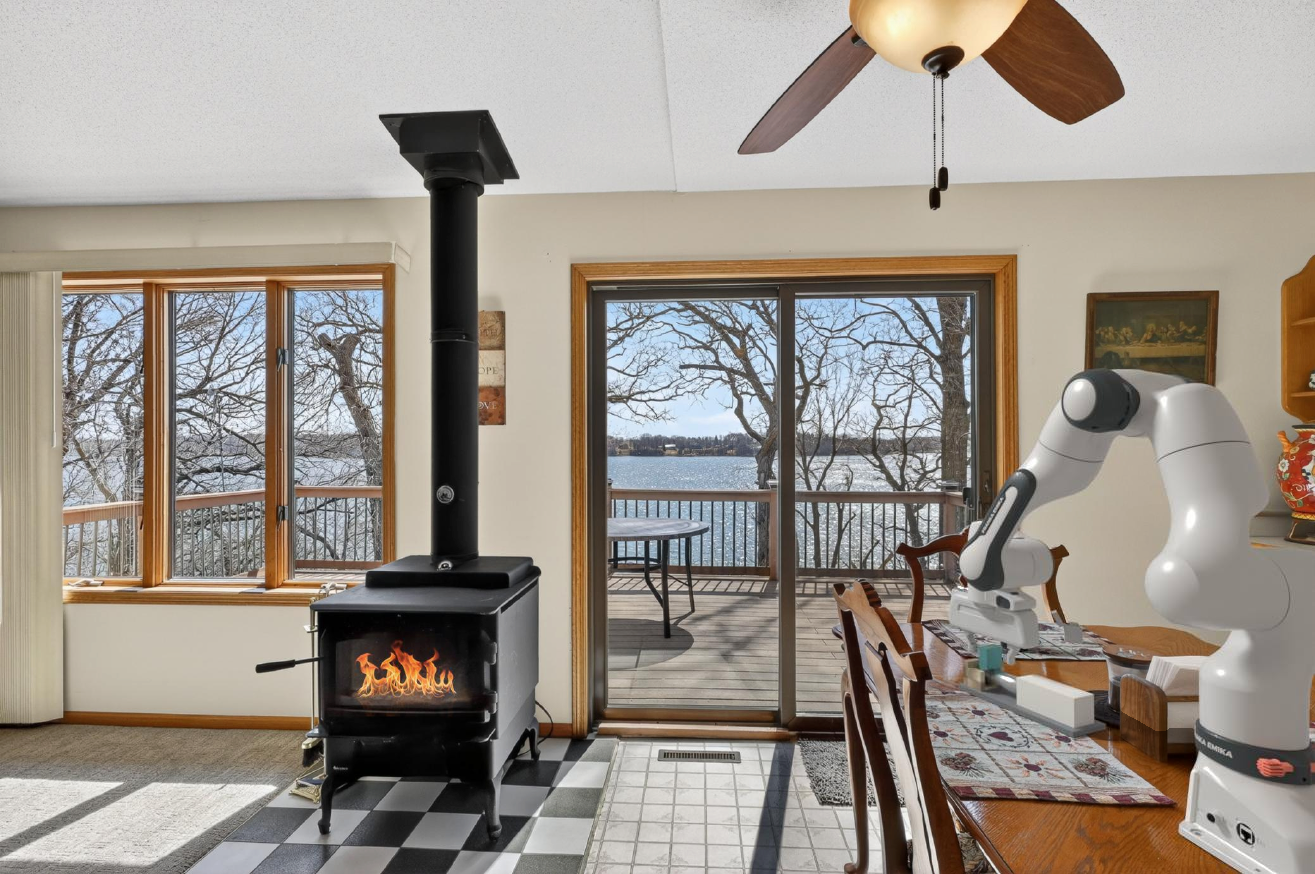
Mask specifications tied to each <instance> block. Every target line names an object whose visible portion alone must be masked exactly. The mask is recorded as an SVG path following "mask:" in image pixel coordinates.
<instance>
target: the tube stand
mask: <svg viewBox="0 0 1315 874" xmlns="http://www.w3.org/2000/svg"><path fill="white" fill-rule="evenodd" d="M1016 680H1017V694H1014V693H1012V692H1009V691H1007V690H1004V689H1002V688H995V689H990V690H985V691H979V690H976V689H974V688H971V687H969V686H967V685H964V684H963V682H961V683H958V684H957V687H958V688H957V689H958V690H960V691H963V692H965V693H968V694H970V695H972V696H975V697H977V698H980V699H982V700H984V701H986V702H988V703H991V704H992V705H996V706H998V707H1000V708H1003V709H1005V710H1006V711H1009V712H1012V713H1015V714H1017V715H1019V716H1021V717H1024V718H1026V719H1029V720H1030V721H1033V722H1035V723H1038V724H1040V725H1043V726H1045V727H1047V728H1050V729H1052V730H1055V731H1057V732H1059V733H1061V734H1064V735H1066V736H1069V737H1071V738H1077V737H1081V736H1085V735H1088V734H1092V733H1093V734H1094V733H1097V732H1101V731H1105V730H1107V724H1106V723H1105V722H1102V721H1099V720H1096V719H1095V694H1094V693H1091V692H1088V691H1084V690H1082V689H1079V688H1078V687H1077V688H1076V687H1073V686H1072V685H1068V684H1065V683H1062V682H1059V681H1057V680H1054V679H1051V678H1048V677H1045V676H1043V675H1039V674H1037V673H1033V674H1028V675H1022V676H1017V677H1016Z"/></svg>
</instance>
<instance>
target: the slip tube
mask: <svg viewBox="0 0 1315 874" xmlns="http://www.w3.org/2000/svg"><path fill="white" fill-rule="evenodd" d="M978 658H979V666H978V667H977V669H979V670H982V671H984V672H985V682H986V683H989V684H991V685H994V686H997V687H999V688H1002V689H1004V690H1007V691H1009V692H1012V693H1014V694H1017V680H1016V677H1018V676H1017V675H1013V674H1012V673H1008V672H1003V671H1000V670H997V669H998V668H1002V667H1003V647H1002V646H1001V645H998V644H995V643H993V644H985V645H979V652H978Z"/></svg>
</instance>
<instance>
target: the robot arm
mask: <svg viewBox="0 0 1315 874" xmlns="http://www.w3.org/2000/svg"><path fill="white" fill-rule="evenodd" d="M1118 436H1124V437H1126V438H1141V439H1142V438H1143V439H1145V438H1147V439H1149V441H1150V443H1151V446H1152V449H1153V452H1154V456H1155V460H1156V462H1157V466H1158V469H1159V473H1160V476H1161V479H1162V483H1163V486H1164V489H1165V492H1166V498H1167V501H1168V504H1169V512H1170V527H1169V533H1168V538H1167V541H1166V542H1165V545H1164V547H1163V549H1162V550H1161V551H1160V553H1159V554H1158V555H1157V556H1156V557H1155V558H1153V560H1152V561H1150V563H1149V565H1148V567H1147V569H1146V572H1145V576H1144V591H1145V594H1146V597H1147V599H1148V601H1149V603H1150V605H1151V606H1152V608H1153V609H1154V610H1155V611H1156V613H1157V614H1158V615H1159V616H1160V617H1162V619H1164V620H1165V621H1168V622H1169V623H1171V624H1174V625H1179V626H1183V627H1188V628H1192V629H1193V628H1194V629H1197V630H1198V629H1199V630H1203V631H1204V630H1205V631H1211V632H1219V631H1222V632H1223V631H1224V632H1225V631H1226V632H1227V631H1228V632H1229V631H1230V633H1229V635H1228V637H1227V639H1226V641H1225V643H1224V644H1223V645H1222V646H1221V647H1220V648H1219V649H1218V650H1216V651H1215V652H1213V653H1211V654H1210V655H1209V656H1207V657H1206V658H1205V659H1204V660H1203V662H1202V663H1201V664H1200V667H1199V671H1198V710H1199V711H1198V712H1199V714H1198V716H1199V717H1198V718H1197V719H1196V720H1195V728H1194V737H1195V738H1194V740H1195V743H1194V744H1195V747H1196V749H1197V750H1198V754H1197V757H1196V761H1195V763H1194V766H1193V768H1192V770H1191V771H1190V777H1189V785H1188V793H1187V803H1186V809H1185V810H1186V812H1185V818H1184V819H1183V820H1182V821H1180V822H1179V825H1178V833H1179V835H1181V836H1182V837H1184V838H1185V839H1187V840H1188V841H1191V842H1192V843H1193V844H1195V845H1197V846H1198V847H1199V848H1202V850H1205V851H1206V852H1208V853H1209V854H1211V855H1212V856H1214V857H1215V858H1217V859H1219V860H1221V861H1222V862H1223V863H1225V864H1226V865H1228V866H1230V867H1232V868H1233V869H1235V870H1236V871H1238V872H1239V873H1240V874H1315V746H1314V744H1313V743H1312V742H1311V741H1310V713H1311V712H1310V707H1311V706H1310V705H1311V691H1312V689H1311V688H1312V684H1313V679H1314V676H1315V551H1314V550H1308V549H1303V548H1297V547H1253V545H1252V542H1251V539H1250V524H1251V520H1252V518H1254V517H1256V516H1257V515H1258V514H1259V513H1261V512H1262V511H1263V510H1264V509H1265V508H1266V507H1267V505H1268V504H1269V502H1270V501H1269V500H1270V493H1271V492H1270V490H1269V487H1268V484H1267V482H1266V479H1265V477H1264V474H1263V471H1262V469H1261V466H1260V462H1259V460H1258V457H1257V456H1256V453H1255V451H1254V448H1253V445H1252V442H1251V440H1250V438H1249V435H1248V433H1247V431H1246V429H1245V426H1244V425H1243V422H1242V421H1241V419H1240V418H1239V416H1238V414H1237V412H1236V411H1235V410H1234V408H1233V407H1232V404H1231V403H1230V401H1228V399H1227V397H1226V396H1225V394H1224V393H1223V392H1222V391H1221V390H1220V389H1219V388H1217V387H1215V386H1213V385H1210V384H1206V383H1199V382H1197V381H1195V380H1194V379H1191V378H1189V377H1186V376H1182V375H1178V374H1166V373H1161V372H1153V371H1146V370H1142V369H1134V368H1131V369H1130V368H1128V369H1126V368H1125V369H1124V368H1123V369H1122V368H1121V369H1119V368H1117V369H1109V368H1105V367H1102V368H1091V369H1087V370H1083V371H1080V372H1078V373H1076V374H1074V375H1073V376H1072V377H1071V378H1070V379H1069V380H1068V381H1067V382H1066V384H1065V386H1064V388H1063V391H1062V395H1061V398H1060V400H1059V401H1058V402H1057V404H1056V405H1055V407H1054V408H1053V410H1052V412H1051V413H1050V415H1049V416H1048V418H1047V420H1046V422H1045V424H1044V425H1043V427H1042V430H1041V432H1040V434H1039V437H1038V439H1037V442H1036V444H1035V446H1034V447H1033V449H1032V451H1031V452H1030V454H1029V455H1028V457H1027V458H1026V459H1025V461H1024V462H1023V463H1022V464H1021V465H1020V466H1019V467H1018V469H1017V470H1015V471H1014V472H1013V473H1012V474H1011V475H1010V476H1009V477H1008V478H1007V479H1006V480H1005V482H1004V483H1003V485H1002V486H1001V488H1000V490H999V491H998V492H997V494H996V497H995V498H994V500H993V501H992V504H991V505H990V508H989V509H988V510H987V513H986V514H985V516H984V518H978V519H976V520H974V521H972V522H971V524H970V527H969V530H968V536H967V541H966V543H965V544H964V545H963V547H962V549H961V551H960V553H959V556H958V569H959V572H960V574H961V575H962V577H963V579H964V580H965V581H966V582H967V586H962V585H959V584H958V585H956V586H955V587H953V588H952V589H951V592H950V595H951V597H950V601H949V606H948V622H949V624H950V625H951V626H952V627H953V628H954V627H955V628H957V629H961V630H962V631H963V637H964V638H965V640H966V641H965V642H966V643H967V650H968V651H969V652H972V653H973V654H975V653H979V646H980V643H978V642H977V641H976V638H975V635H976V634H977V635H980V636H982V637H986V638H988V639H992V640H995V641H999V642H1000V641H1001V642H1004V643H1007V648H1008V649H1010V650H1008V652H1007V653H1006V654H1002V664H1005V665H1007V666H1014V665H1015V664H1016V656H1017V654H1019V650H1020V648H1023V649H1028V648H1030V649H1034V648H1035V647H1037V646H1038V644H1039V642H1040V630H1039V629H1040V628H1039V619H1038V616H1037V613H1036V611H1034V610H1033V609H1036V608H1037V600H1036V599H1035V597H1034V596H1031V595H1030V594H1028V593H1026V592H1024V591H1023V590H1022V589H1021V588H1023V587H1024V588H1025V587H1035V586H1040V585H1041V586H1042V585H1045V584H1047V583H1048V582H1049V581H1050V580H1051V579H1052V577H1053V575H1054V572H1055V568H1056V567H1055V566H1056V565H1055V564H1056V563H1055V558H1054V554H1053V552H1052V551H1051V549H1050V548H1049V547H1048V545H1047V544H1046V543H1044V542H1043V541H1042V540H1040V539H1036V538H1033V537H1030V536H1029V535H1026V534H1024V533H1023V532H1021V531H1020V530H1019V529H1020V527H1021V525H1022V523H1023V521H1024V520H1025V519H1026V518H1027V517H1028V515H1030V514H1031V513H1033V511H1035V510H1036V509H1039V508H1040V507H1042V506H1045V505H1047V504H1050V503H1052V502H1054V501H1057V500H1060V499H1061V500H1062V499H1064V498H1066V497H1070V496H1074V495H1076V494H1078V493H1081V492H1082V491H1084V490H1086V489H1087V488H1088V487H1089V486H1090V485H1091V484H1092V483H1093V482H1094V480H1095V479H1096V478H1097V476H1098V474H1099V473H1100V471H1101V470H1102V466H1103V464H1104V462H1105V459H1106V458H1107V456H1108V453H1109V451H1110V448H1111V446H1112V443H1113V442H1114V440H1115V439H1116V438H1117V437H1118Z"/></svg>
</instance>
